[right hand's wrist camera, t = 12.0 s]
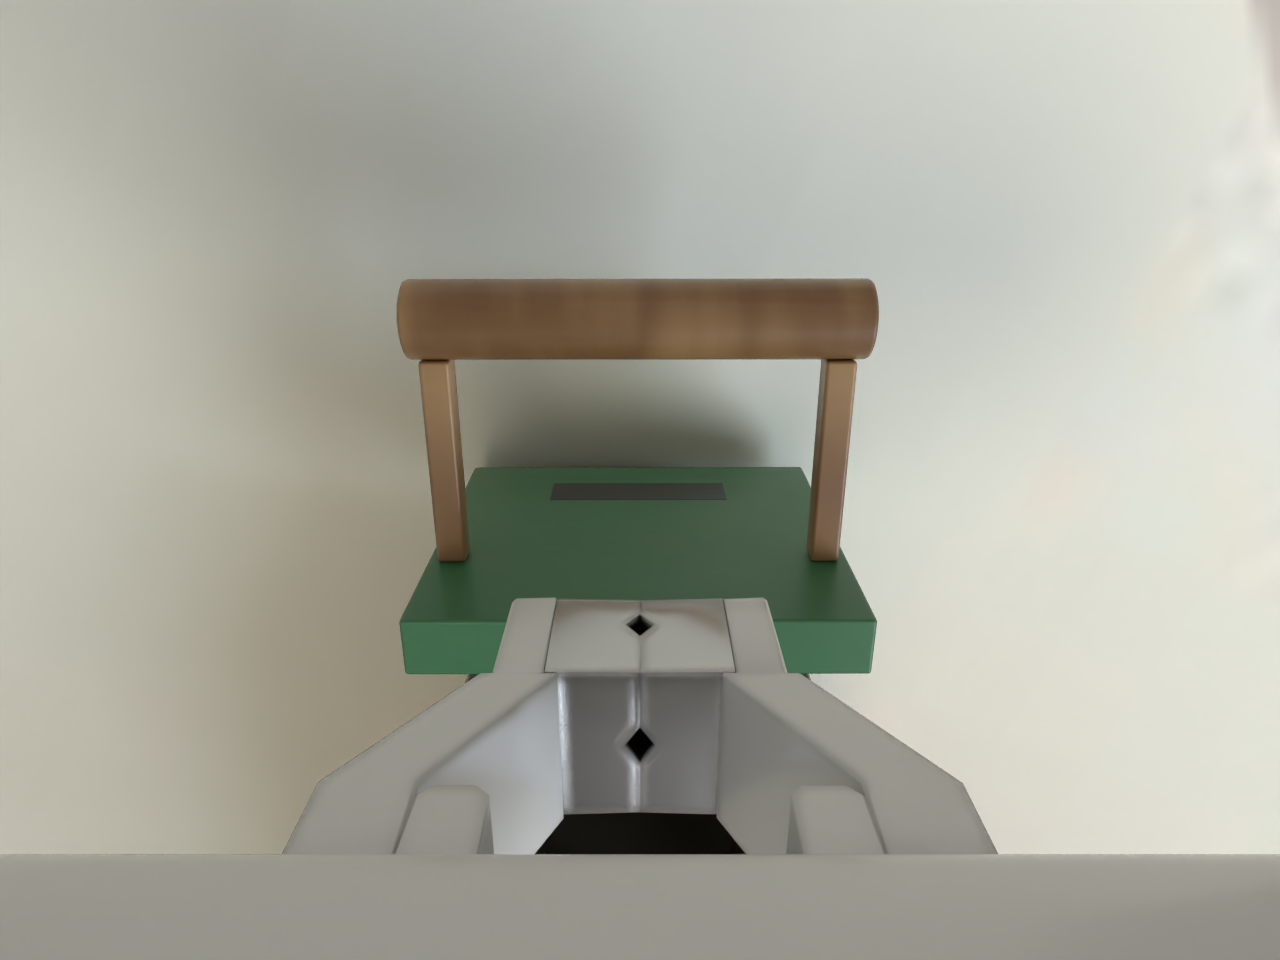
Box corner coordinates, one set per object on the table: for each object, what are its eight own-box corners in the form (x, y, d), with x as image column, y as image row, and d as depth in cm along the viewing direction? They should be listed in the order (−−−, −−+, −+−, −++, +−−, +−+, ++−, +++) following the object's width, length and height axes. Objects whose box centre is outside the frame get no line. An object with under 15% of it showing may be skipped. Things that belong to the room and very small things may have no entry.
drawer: (457, 246, 21) (358, 304, 14) (818, 246, 21) (915, 304, 14) (509, 901, 29) (464, 1161, 22) (768, 900, 29) (813, 1161, 22)
